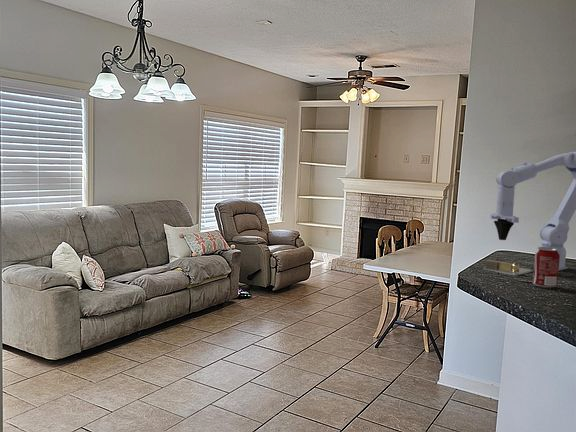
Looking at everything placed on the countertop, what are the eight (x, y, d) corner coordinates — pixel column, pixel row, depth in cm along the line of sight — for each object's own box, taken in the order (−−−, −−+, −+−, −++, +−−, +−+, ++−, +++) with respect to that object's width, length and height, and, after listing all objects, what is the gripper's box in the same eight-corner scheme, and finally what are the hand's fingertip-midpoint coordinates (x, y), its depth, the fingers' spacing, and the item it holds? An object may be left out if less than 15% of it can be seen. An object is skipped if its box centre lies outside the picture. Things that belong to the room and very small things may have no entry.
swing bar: (520, 271, 176) (520, 262, 176) (517, 272, 175) (518, 263, 174) (488, 266, 184) (489, 258, 184) (485, 266, 183) (486, 258, 183)
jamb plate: (500, 265, 191) (500, 263, 191) (532, 271, 182) (533, 269, 182) (482, 269, 183) (483, 267, 183) (516, 275, 174) (516, 273, 174)
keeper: (491, 267, 185) (491, 260, 184) (510, 270, 179) (510, 263, 179) (485, 268, 182) (486, 261, 182) (504, 271, 177) (505, 264, 177)
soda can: (559, 290, 155) (563, 250, 153) (536, 288, 156) (539, 249, 155) (553, 285, 161) (556, 247, 160) (530, 283, 162) (533, 246, 161)
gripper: (484, 201, 195) (481, 237, 197) (507, 204, 181) (504, 242, 182) (501, 202, 197) (498, 237, 198) (525, 205, 182) (522, 242, 184)
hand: (502, 239), depth 190 cm, fingers closed
